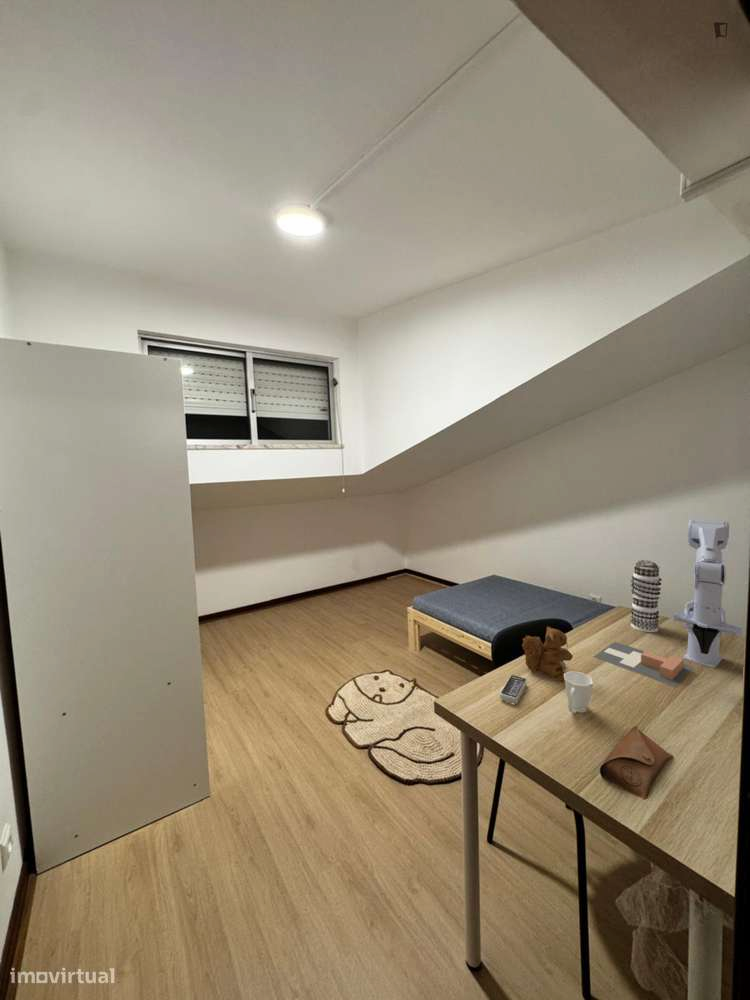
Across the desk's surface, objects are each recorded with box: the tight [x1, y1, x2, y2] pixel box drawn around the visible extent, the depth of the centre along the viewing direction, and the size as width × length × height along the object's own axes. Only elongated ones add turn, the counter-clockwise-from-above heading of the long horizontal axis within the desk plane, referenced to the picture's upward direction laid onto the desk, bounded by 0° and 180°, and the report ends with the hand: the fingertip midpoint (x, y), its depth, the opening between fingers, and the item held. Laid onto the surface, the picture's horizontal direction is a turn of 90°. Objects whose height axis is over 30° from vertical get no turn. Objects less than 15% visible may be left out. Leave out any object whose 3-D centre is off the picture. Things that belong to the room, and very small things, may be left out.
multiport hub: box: [499, 674, 527, 704], centre depth 109 cm, size 4×11×2 cm, turn 145°
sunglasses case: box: [599, 725, 674, 800], centre depth 83 cm, size 18×7×7 cm, turn 129°
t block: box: [641, 651, 685, 680], centre depth 118 cm, size 10×9×3 cm
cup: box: [564, 670, 594, 714], centre depth 100 cm, size 7×10×8 cm
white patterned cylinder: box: [630, 560, 663, 633], centre depth 145 cm, size 9×9×25 cm
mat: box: [593, 641, 695, 688], centre depth 122 cm, size 16×22×1 cm
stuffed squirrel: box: [521, 626, 573, 682], centre depth 119 cm, size 10×14×13 cm
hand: (704, 652), depth 109 cm, fingers closed
